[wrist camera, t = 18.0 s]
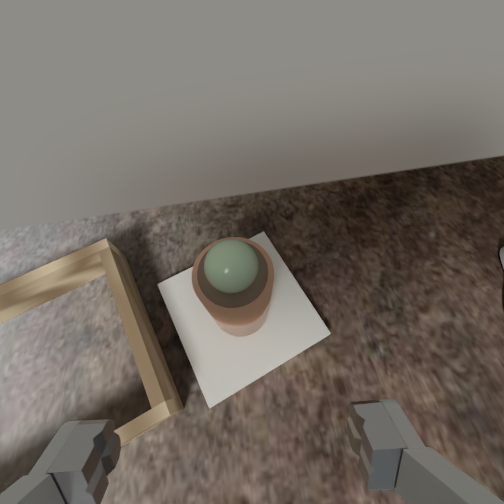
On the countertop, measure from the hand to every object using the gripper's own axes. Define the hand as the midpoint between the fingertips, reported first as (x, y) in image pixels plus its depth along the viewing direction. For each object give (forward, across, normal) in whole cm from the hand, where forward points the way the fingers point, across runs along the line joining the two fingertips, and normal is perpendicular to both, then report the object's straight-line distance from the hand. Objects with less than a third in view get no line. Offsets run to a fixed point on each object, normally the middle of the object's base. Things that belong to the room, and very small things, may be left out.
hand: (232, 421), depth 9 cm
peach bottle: (+15, 0, +5) cm, 16 cm away
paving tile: (+15, 0, +5) cm, 16 cm away
